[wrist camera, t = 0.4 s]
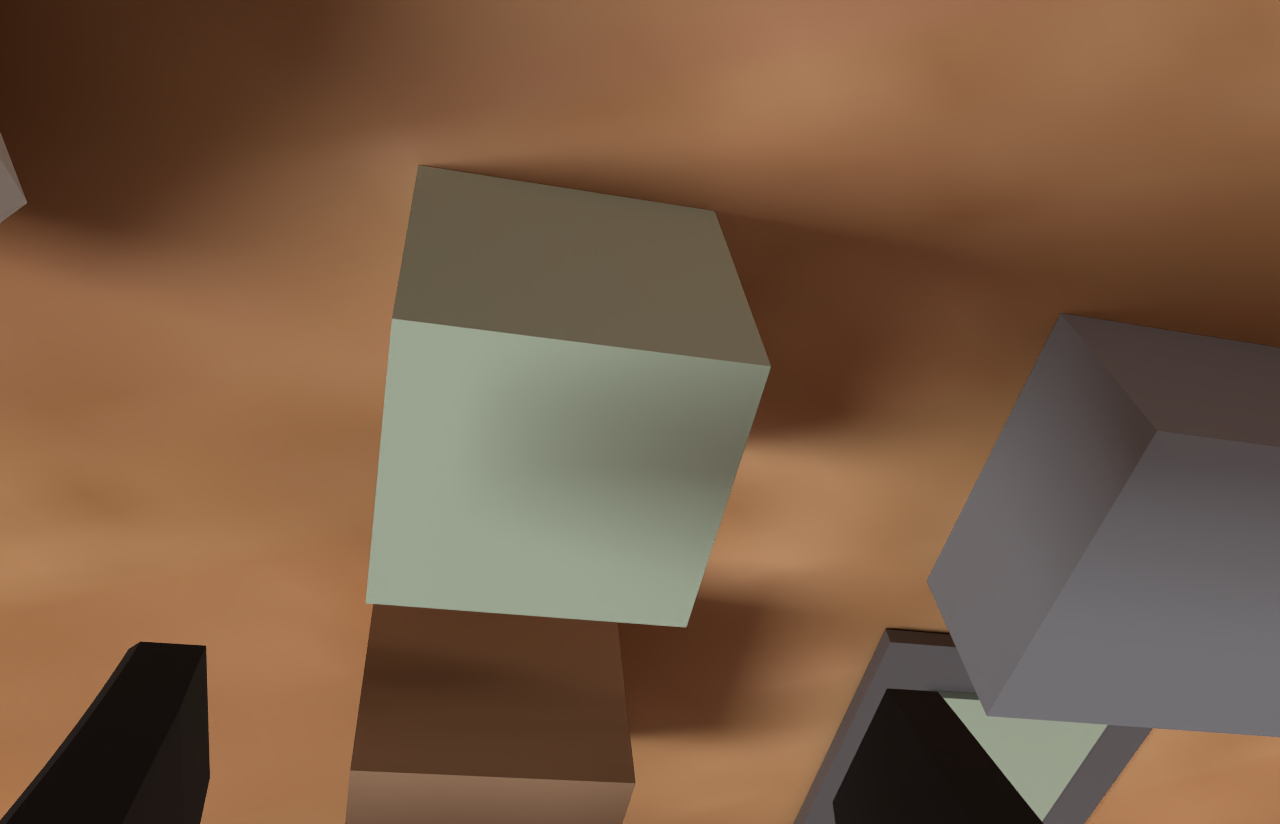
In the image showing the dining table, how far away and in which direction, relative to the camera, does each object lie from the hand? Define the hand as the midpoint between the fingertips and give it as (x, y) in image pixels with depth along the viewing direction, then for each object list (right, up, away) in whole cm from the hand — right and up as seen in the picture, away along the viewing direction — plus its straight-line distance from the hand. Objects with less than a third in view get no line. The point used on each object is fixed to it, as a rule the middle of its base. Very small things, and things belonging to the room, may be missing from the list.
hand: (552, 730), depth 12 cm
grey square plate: (+10, -5, +16) cm, 20 cm away
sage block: (-1, +5, +8) cm, 10 cm away
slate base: (+11, +2, +12) cm, 17 cm away
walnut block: (-3, -2, +13) cm, 13 cm away
